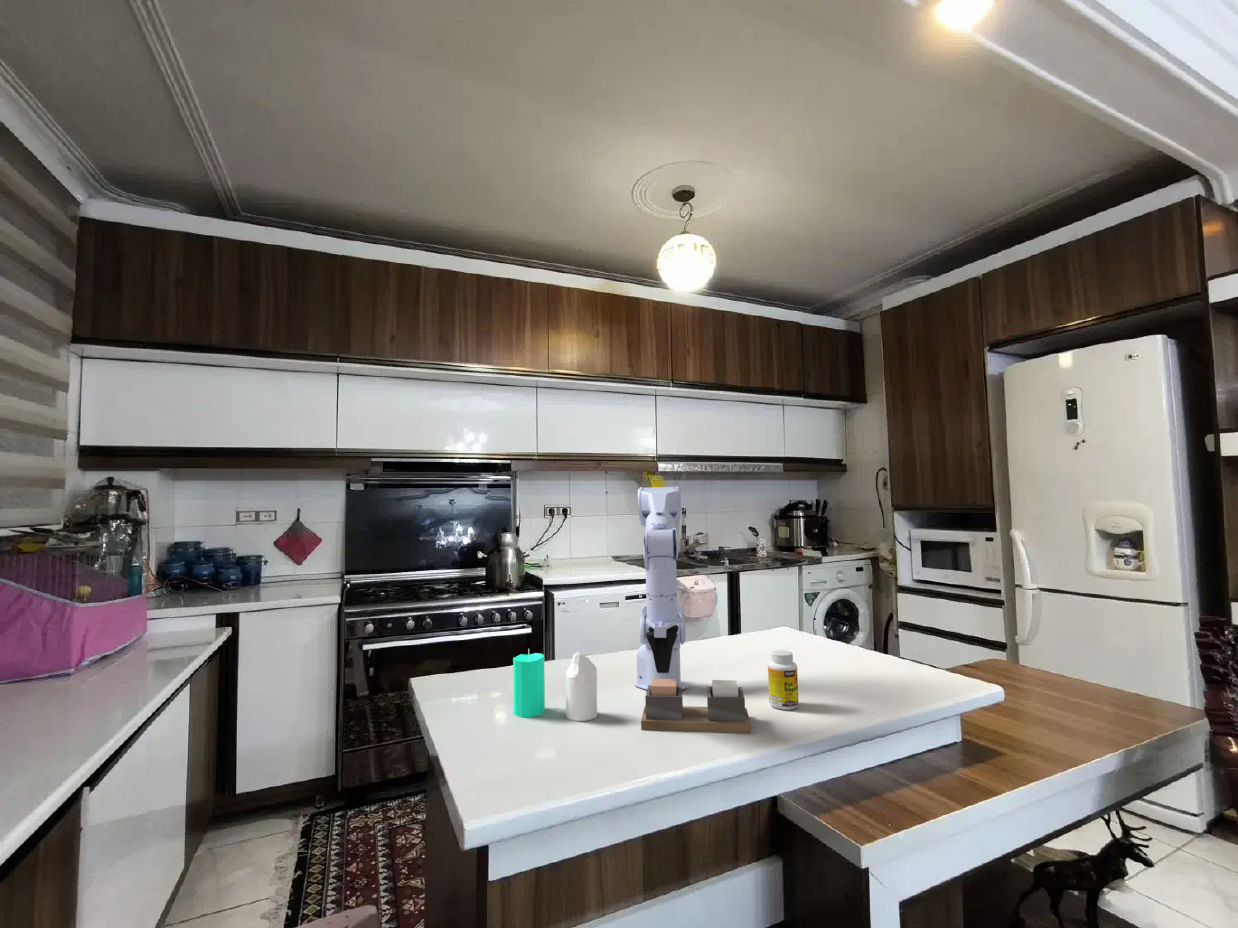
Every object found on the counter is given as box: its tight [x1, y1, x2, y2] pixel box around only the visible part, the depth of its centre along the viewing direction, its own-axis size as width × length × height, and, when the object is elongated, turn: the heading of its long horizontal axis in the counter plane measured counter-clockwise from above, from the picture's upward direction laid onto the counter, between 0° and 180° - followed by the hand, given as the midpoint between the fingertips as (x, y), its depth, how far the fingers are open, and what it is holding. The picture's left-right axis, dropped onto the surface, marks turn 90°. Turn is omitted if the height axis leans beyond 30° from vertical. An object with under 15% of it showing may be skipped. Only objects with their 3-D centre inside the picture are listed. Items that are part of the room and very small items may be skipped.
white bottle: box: [565, 651, 598, 722], centre depth 108 cm, size 6×12×6 cm
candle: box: [512, 648, 546, 718], centre depth 111 cm, size 6×6×12 cm
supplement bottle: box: [767, 649, 799, 711], centre depth 111 cm, size 6×6×10 cm
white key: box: [711, 679, 739, 697], centre depth 103 cm, size 4×4×2 cm
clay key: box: [651, 679, 677, 696], centre depth 104 cm, size 4×4×2 cm
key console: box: [640, 685, 752, 734], centre depth 103 cm, size 8×19×6 cm, turn 82°
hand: (663, 669), depth 105 cm, fingers open, 4 cm apart
